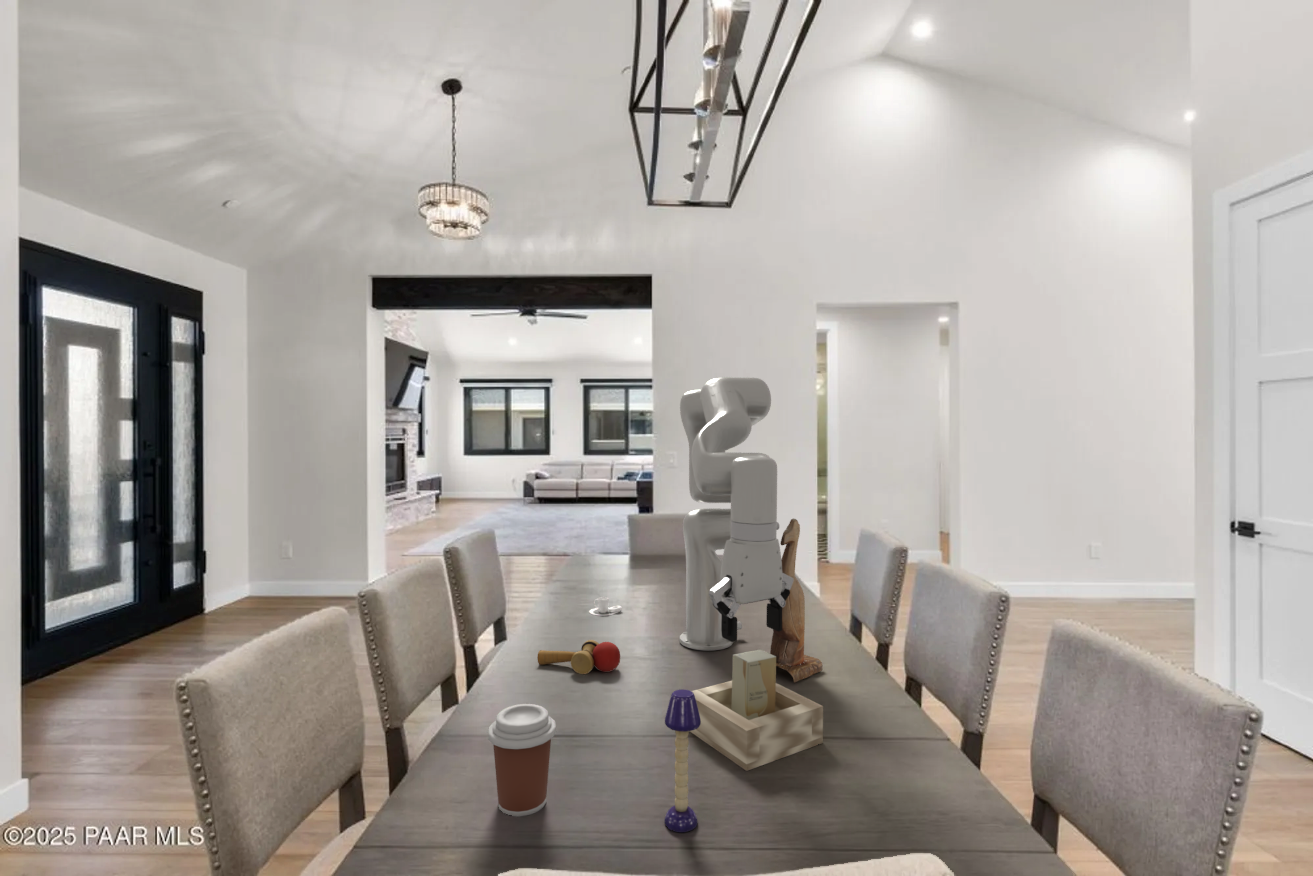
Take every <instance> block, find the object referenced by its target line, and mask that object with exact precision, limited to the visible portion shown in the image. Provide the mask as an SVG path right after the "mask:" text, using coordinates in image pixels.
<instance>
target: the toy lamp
mask: <svg viewBox="0 0 1313 876" xmlns="http://www.w3.org/2000/svg"><path fill="white" fill-rule="evenodd" d="M692 691H693V690H689V689H684V688H683V689H680V688H679V689H676V690H674V691H673V692H671V694H670V699H669V702H668V705H667V709H666V713H665V717H664V725H665V726H666V727H667V728H668V729H670V730H672V731H674V734H675V740H674V745H675V750H674V759H675V762H674V771H675V774H674V784H675V786H674V795H675V798H674V805H672V806H671V807H670V808H669V809H668V810H667V812H666V814H665V815H664V816H665V817H664V825H665V824H666V825H665V827H666V826H667V827H668V828H667V827H666V828H667V829H668V830H670V831H672V830H673V831H672V832H677V833H686V832H689V831H693V830H694V829H695V828H696V827H697V825H698V817H697V814H696V813H695V811H694V809H693V808H691V807H690V806H689V799H688V794H689V787H688V783H689V773H688V770H689V762H688V759H689V749H688V748H689V738H688V736H689V734H690V731H692V730H695V729H697V728H698V727H699V726H700V724H701V720H700V715H699V711H698V706H697V702H696V698H695V695H694V693H693V692H692Z"/></svg>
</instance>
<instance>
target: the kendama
mask: <svg viewBox="0 0 1313 876" xmlns="http://www.w3.org/2000/svg"><path fill="white" fill-rule="evenodd" d="M536 660H537V663H538V665H540V666H543V665H550V664H560V663H568V662H569V663H570V665H571V668H572V670H573V671H574V672H575V673H577V674H580V675H581V674H582V675H587V674H589V673H591V671H592V670H593V668H594V667H595V669H597V670H598V671H600V672H603V673H604V672H605V673H608V672H612V671H614V670H615V669H616V668H618V667H619V666H620V663H621V652H620V649H619V647H618V646H617V645H616V644H615V643H612V642H610V641H603V642H600V643H599V642H598V641H596V640H595V639H588V640H586V641H584V643H582V645H581V649H580V650H578V651H576V652H575V651H568V650H566V651H565V650H542V649H541V650H539V651H538V653H537V659H536Z"/></svg>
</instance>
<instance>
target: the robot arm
mask: <svg viewBox="0 0 1313 876" xmlns="http://www.w3.org/2000/svg"><path fill="white" fill-rule="evenodd" d="M771 405H772V395H771V390H770V388H769V386H768V384H767V383H766V381H765V380H764V379H761V378H759V377H732V376H731V377H730V376H729V377H728V376H726V377H725V376H724V377H723V376H722V377H716V378H712V379H710V380H708V381H707V382H706V383H704V384H703V386H702V387H701V389H694V390H689V391H686V392H685V393H684V394H682V396H681V398H680V403H679V411H680V412H679V413H680V419H681V423H682V426H683V430H684V432H685V435H686V438H687V441H688V448H689V449H688V450H689V451H688V452H689V454H688V487H689V495H690V497H691V499H692V500H693V501H694V502H696V503H701V504H730V508H721V507H720V508H698V509H694V510H691V511H689V512H687V513H686V514H685V515H684V518H683V519H682V520H683V521H682V534H683V540H684V541H683V542H684V548H685V568H686V570H685V571H686V573H685V577H686V578H685V585H686V586H685V590H686V591H685V631H683V632H682V633H681V634H680V635H679V643H680V644H681V646H684V647H686V648H688V649H691V650H696V651H709V652H710V651H720V650H724V649H727V648H730V647H731V646H732V645H733V643H736V642H737V641H738V630H742V628H743V623H742V622H741V621H738V618H737V617H736V616H735V615H736V614H737V611H738V610H739V608H740V607H741V605H747V604H752V603H757V602H762V601H768V603H766V624H765V625H766V627H767V628H769V629H771V630H776V631H778V632H779V631H782V607H784V606H785V604H786V602H785V601H786V599H787V598H788V596H789V595H790V589H791V587H792V584H793V581H794V579H793V578H792V577H790V576H788V575H786V574H784V573H782V561H781V560H782V553H781V547H780V541H779V539H778V538H777V530H779V529H780V524H779V522H778V518H777V517H778V516H777V515H778V514H777V513H778V465H777V462H776V461H775V459H774V458H772V457H770V456H769V455H768V454H766V453H762V452H726V451H727V450H730V449H732V448H735V447H737V446H739V445H741V444H742V443H744V442H745V441H746V440H747V439H748V438H749V436H750V434H751V431H752V426H755V425H756V424H757V423H759V422H761V421H762V420H764V419H765V418H766V417H767V416H768V414H769V412H770V410H771V407H772V406H771ZM718 550H719V551H720V550H723V553H722V558H720V556H719V555H718V554H717V553H716V551H718Z"/></svg>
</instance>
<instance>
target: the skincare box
mask: <svg viewBox="0 0 1313 876" xmlns="http://www.w3.org/2000/svg"><path fill="white" fill-rule="evenodd" d="M731 677H732V678H731V681H732V708H731V710H732V711H734V712H736V713H737V714H739V715H741V716H742V717H744V718H746V719H747V720H751V719H754V718H757V717H761V716H764V715H767V714H770V713H773V712H775V691H776V683H777V681H776V680H777V678H776V677H777V666H776V656H774V655H772V654H770V653H769V652H768V651H765V650H764V649H760V648H759V649H756V650H750V651H745V652H740V653H735V654H732V673H731Z"/></svg>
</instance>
